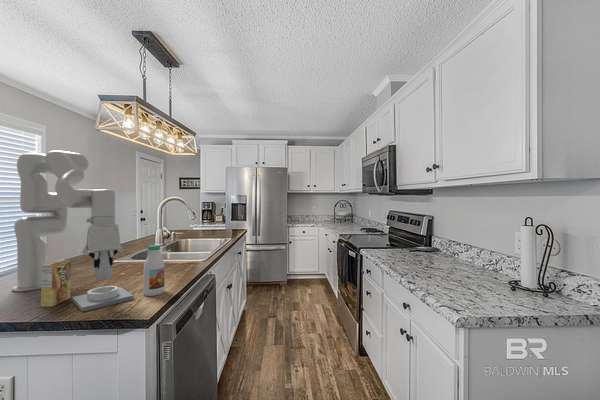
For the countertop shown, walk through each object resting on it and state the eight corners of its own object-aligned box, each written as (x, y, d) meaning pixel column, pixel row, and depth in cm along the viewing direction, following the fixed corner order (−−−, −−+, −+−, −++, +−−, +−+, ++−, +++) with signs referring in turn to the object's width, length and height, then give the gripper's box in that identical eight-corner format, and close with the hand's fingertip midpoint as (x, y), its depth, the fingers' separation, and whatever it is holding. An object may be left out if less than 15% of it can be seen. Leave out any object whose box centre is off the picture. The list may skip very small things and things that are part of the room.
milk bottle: (140, 297, 107) (141, 247, 108) (146, 291, 115) (146, 244, 115) (162, 295, 109) (162, 246, 110) (166, 289, 117) (166, 243, 117)
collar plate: (72, 300, 104) (72, 290, 104) (120, 290, 116) (120, 281, 116) (81, 311, 93) (81, 300, 93) (133, 299, 105) (133, 289, 105)
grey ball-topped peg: (102, 281, 101) (102, 246, 101) (90, 280, 102) (90, 246, 102) (116, 277, 107) (116, 244, 107) (104, 276, 108) (104, 243, 108)
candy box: (59, 298, 106) (59, 259, 106) (71, 298, 107) (71, 259, 107) (40, 307, 97) (40, 264, 98) (53, 306, 98) (53, 264, 98)
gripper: (78, 222, 96) (78, 274, 96) (130, 220, 108) (130, 265, 108) (74, 221, 101) (74, 271, 101) (124, 219, 113) (124, 263, 113)
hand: (103, 267), depth 105 cm, fingers closed on grey ball-topped peg, 3 cm apart
